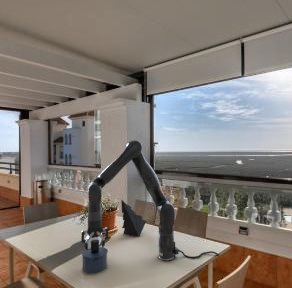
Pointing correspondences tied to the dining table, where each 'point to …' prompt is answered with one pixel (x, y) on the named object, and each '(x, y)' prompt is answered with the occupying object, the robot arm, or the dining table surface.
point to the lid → (94, 250)
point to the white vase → (92, 239)
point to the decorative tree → (131, 221)
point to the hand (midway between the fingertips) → (94, 248)
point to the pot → (94, 264)
